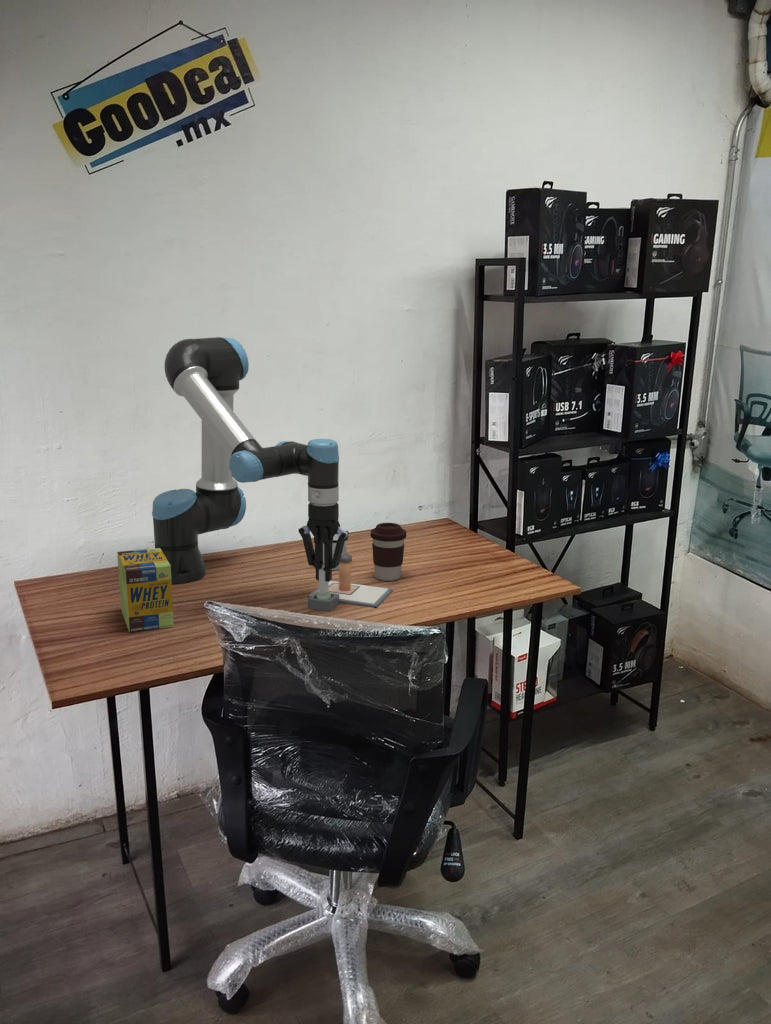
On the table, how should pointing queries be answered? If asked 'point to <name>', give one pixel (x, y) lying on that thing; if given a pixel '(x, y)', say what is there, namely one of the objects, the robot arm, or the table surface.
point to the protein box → (145, 589)
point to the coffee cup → (388, 550)
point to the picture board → (359, 594)
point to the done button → (324, 596)
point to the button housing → (323, 602)
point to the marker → (345, 572)
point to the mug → (335, 546)
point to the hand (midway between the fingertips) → (323, 592)
